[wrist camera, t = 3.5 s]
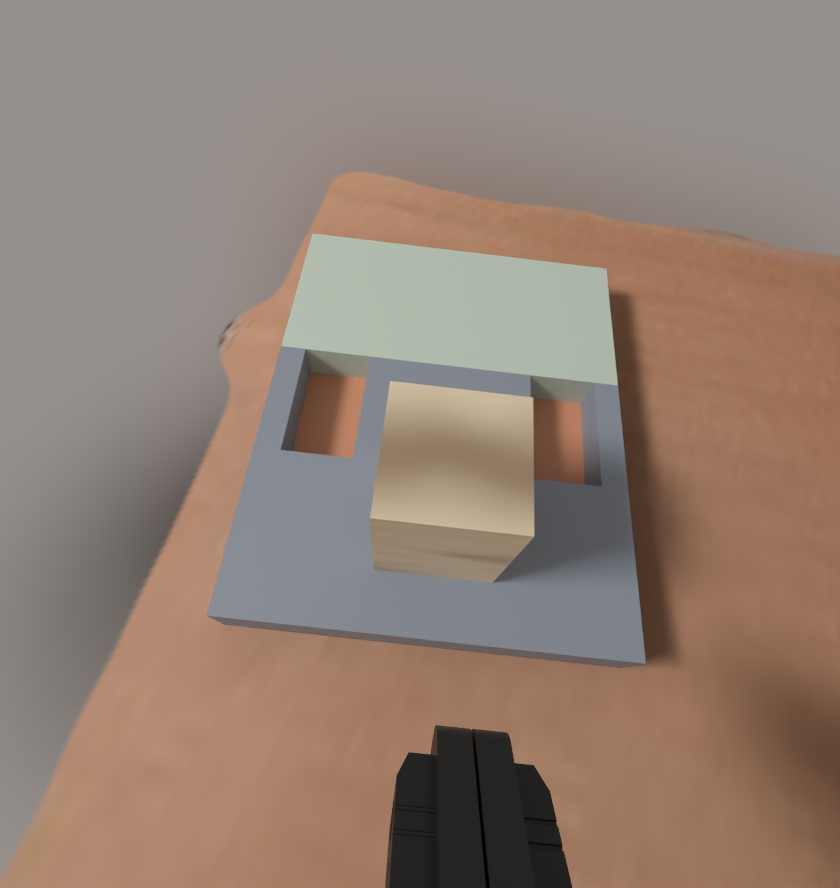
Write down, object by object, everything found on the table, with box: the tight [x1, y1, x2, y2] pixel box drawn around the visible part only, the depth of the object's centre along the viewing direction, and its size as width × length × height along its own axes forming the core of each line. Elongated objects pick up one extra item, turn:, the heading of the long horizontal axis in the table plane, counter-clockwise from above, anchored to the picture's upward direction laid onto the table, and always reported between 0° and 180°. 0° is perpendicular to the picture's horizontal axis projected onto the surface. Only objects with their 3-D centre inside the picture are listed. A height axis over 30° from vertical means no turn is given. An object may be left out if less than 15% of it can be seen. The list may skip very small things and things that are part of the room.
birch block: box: [370, 381, 534, 583], centre depth 23 cm, size 6×6×8 cm
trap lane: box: [207, 234, 646, 668], centre depth 31 cm, size 26×21×3 cm
